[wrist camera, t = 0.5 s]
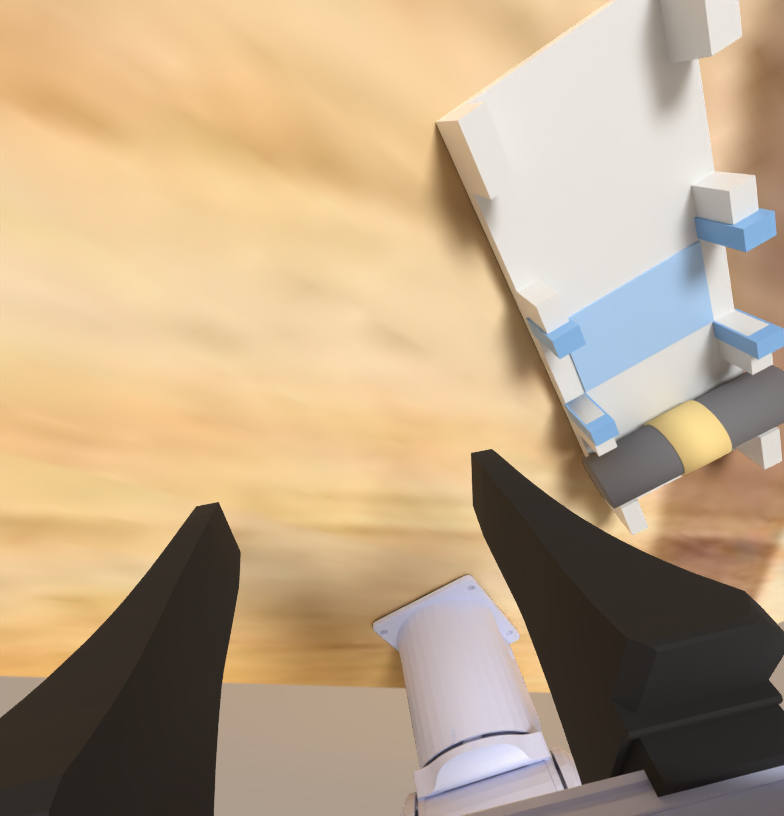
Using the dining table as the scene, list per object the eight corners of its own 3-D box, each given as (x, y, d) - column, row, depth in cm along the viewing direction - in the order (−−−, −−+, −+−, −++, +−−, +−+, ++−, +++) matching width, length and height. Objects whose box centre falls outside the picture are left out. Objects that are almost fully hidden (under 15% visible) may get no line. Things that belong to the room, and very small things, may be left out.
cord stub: (750, 352, 24) (807, 381, 21) (755, 395, 25) (809, 427, 23) (574, 447, 25) (606, 485, 22) (590, 482, 27) (622, 521, 24)
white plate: (740, 430, 28) (793, 466, 25) (603, 501, 29) (636, 543, 26) (665, -39, 15) (753, -80, 12) (433, 123, 17) (460, 122, 14)
